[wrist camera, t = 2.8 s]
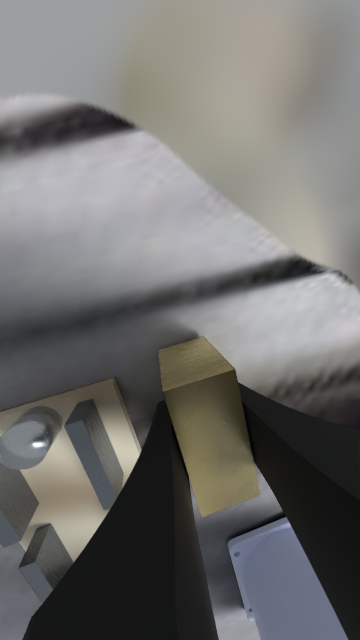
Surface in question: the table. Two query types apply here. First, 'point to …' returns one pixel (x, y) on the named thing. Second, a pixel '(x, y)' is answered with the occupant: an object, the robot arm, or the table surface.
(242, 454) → the khaki rectangular block
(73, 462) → the plywood plate
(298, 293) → the table surface
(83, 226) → the table surface
